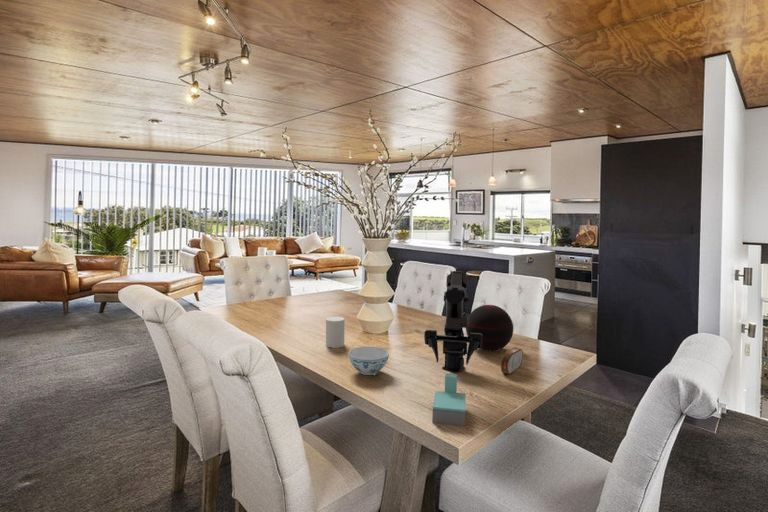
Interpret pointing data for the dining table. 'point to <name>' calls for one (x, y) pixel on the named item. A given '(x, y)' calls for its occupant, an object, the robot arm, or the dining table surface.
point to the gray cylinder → (335, 332)
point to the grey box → (448, 417)
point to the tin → (511, 360)
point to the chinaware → (368, 359)
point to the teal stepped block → (450, 396)
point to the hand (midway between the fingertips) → (452, 362)
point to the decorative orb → (491, 326)
